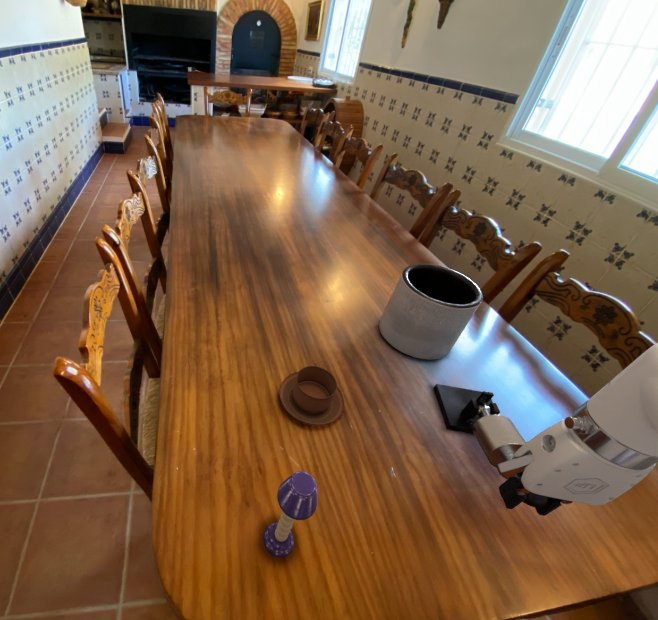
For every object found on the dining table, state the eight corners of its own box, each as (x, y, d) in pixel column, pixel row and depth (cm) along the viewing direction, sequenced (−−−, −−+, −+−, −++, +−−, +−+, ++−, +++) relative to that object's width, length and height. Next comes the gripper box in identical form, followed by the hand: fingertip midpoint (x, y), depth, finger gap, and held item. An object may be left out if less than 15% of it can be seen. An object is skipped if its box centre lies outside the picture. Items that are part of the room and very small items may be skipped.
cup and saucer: (272, 378, 71) (277, 357, 67) (329, 376, 73) (337, 355, 69) (285, 432, 62) (291, 412, 58) (350, 428, 64) (361, 408, 60)
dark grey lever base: (504, 440, 64) (528, 416, 59) (446, 429, 65) (466, 405, 60) (484, 397, 71) (505, 373, 67) (433, 388, 72) (449, 364, 68)
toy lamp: (264, 517, 52) (282, 460, 41) (296, 522, 51) (323, 467, 41) (261, 555, 48) (281, 503, 37) (296, 561, 48) (325, 511, 37)
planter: (363, 323, 86) (385, 269, 76) (411, 308, 92) (437, 257, 82) (413, 371, 76) (446, 316, 66) (464, 351, 81) (502, 297, 71)
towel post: (488, 421, 66) (551, 522, 50) (455, 415, 67) (506, 513, 50) (504, 397, 63) (575, 496, 47) (469, 391, 64) (527, 487, 47)
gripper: (554, 450, 38) (469, 517, 50) (725, 481, 37) (596, 542, 49) (522, 393, 44) (453, 465, 56) (669, 419, 42) (566, 487, 54)
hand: (520, 501), depth 52 cm, fingers closed on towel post, 3 cm apart
